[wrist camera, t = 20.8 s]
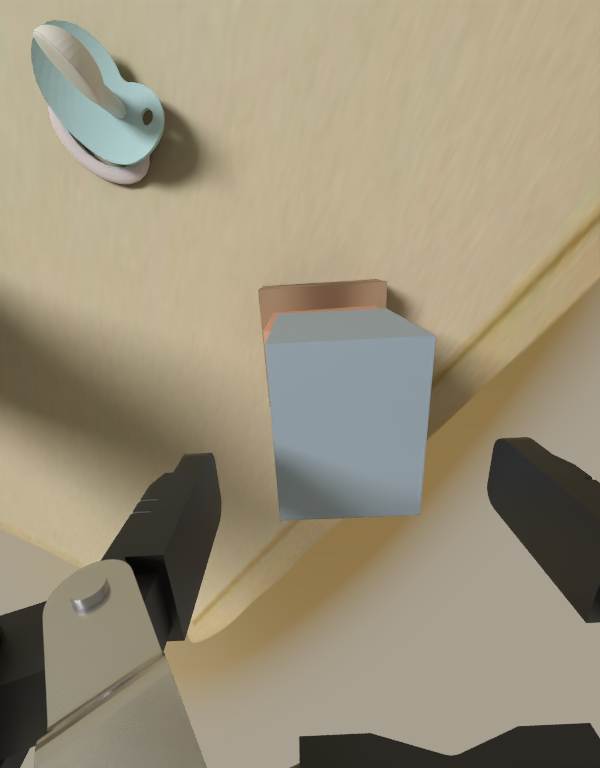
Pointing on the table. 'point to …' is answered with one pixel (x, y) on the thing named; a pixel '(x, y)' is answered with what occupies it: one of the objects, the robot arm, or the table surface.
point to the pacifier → (95, 103)
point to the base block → (320, 298)
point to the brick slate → (349, 412)
